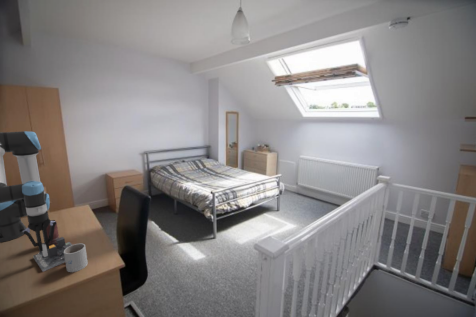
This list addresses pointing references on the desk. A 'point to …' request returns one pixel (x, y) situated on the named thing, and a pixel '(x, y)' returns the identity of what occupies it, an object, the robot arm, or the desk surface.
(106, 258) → the desk surface
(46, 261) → the panel
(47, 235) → the can
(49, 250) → the block
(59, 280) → the desk surface
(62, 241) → the block
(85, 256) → the mug
